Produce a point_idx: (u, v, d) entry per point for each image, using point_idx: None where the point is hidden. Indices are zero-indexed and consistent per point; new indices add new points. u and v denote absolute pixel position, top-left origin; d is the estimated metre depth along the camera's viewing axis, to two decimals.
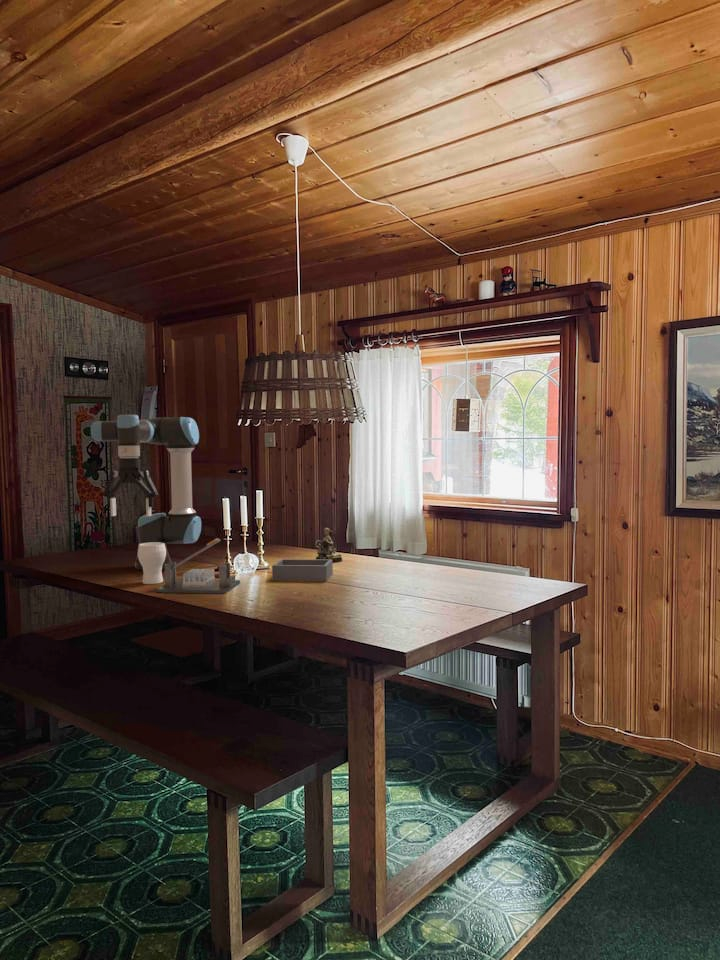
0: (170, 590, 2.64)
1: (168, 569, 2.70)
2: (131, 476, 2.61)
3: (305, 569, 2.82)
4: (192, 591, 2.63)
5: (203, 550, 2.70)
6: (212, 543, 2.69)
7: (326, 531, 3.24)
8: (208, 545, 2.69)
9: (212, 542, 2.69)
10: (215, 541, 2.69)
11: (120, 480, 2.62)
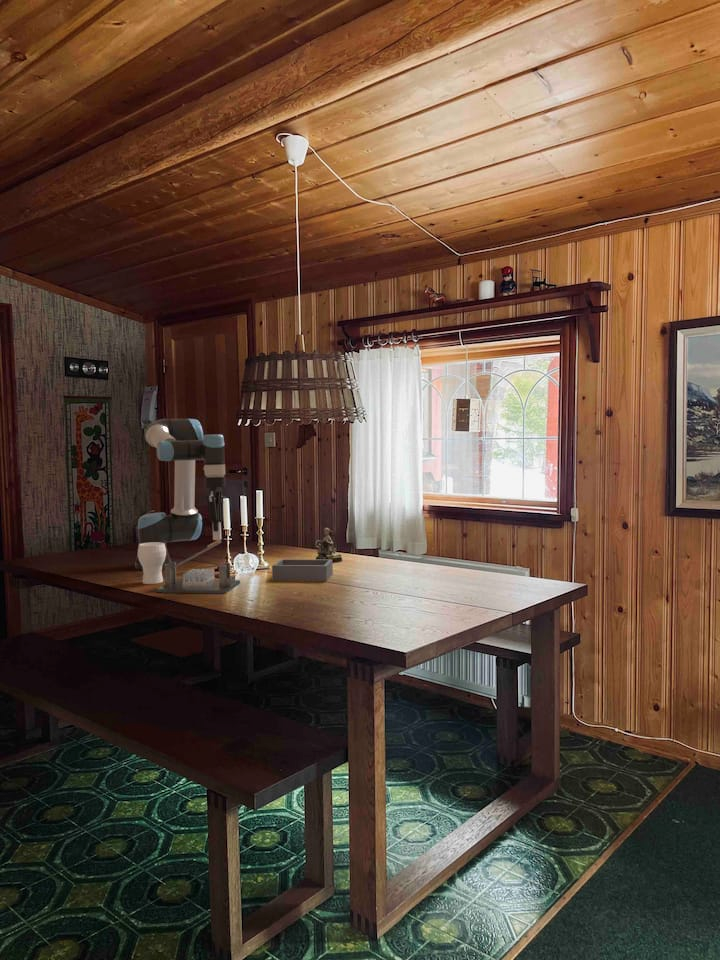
0: (170, 590, 2.64)
1: (168, 569, 2.70)
2: None
3: (305, 569, 2.82)
4: (192, 591, 2.63)
5: (204, 551, 2.70)
6: (213, 545, 2.69)
7: (326, 531, 3.24)
8: (209, 546, 2.69)
9: (213, 544, 2.69)
10: (216, 543, 2.69)
11: None
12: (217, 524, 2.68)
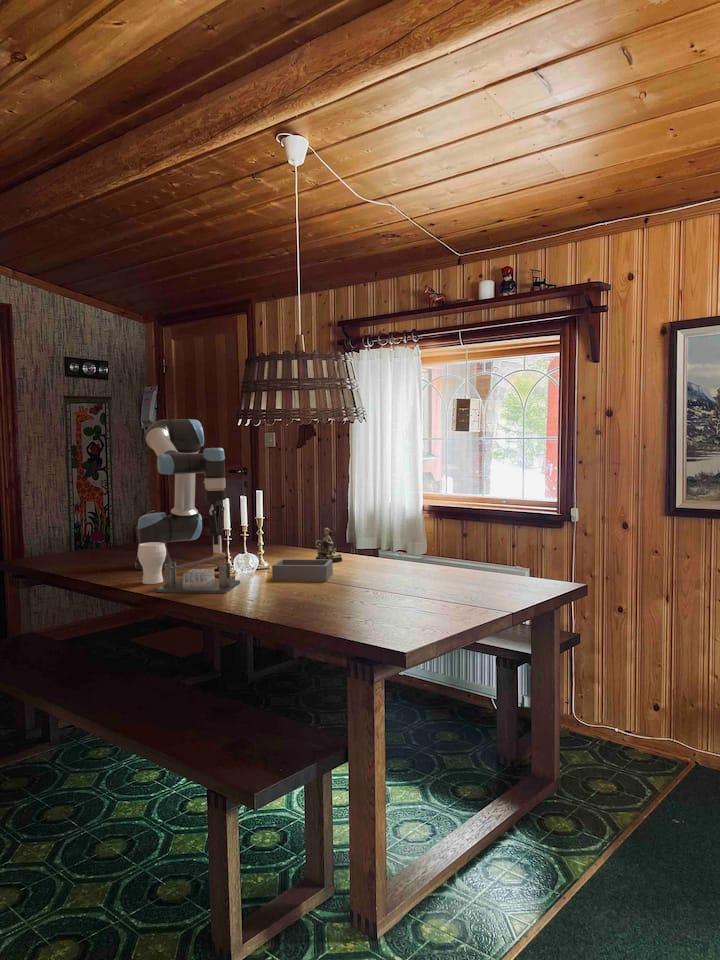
0: (170, 590, 2.64)
1: (168, 569, 2.70)
2: None
3: (305, 569, 2.82)
4: (192, 591, 2.63)
5: None
6: (218, 557, 2.69)
7: (326, 531, 3.24)
8: (213, 557, 2.69)
9: (218, 556, 2.69)
10: (221, 556, 2.69)
11: None
12: (217, 537, 2.68)
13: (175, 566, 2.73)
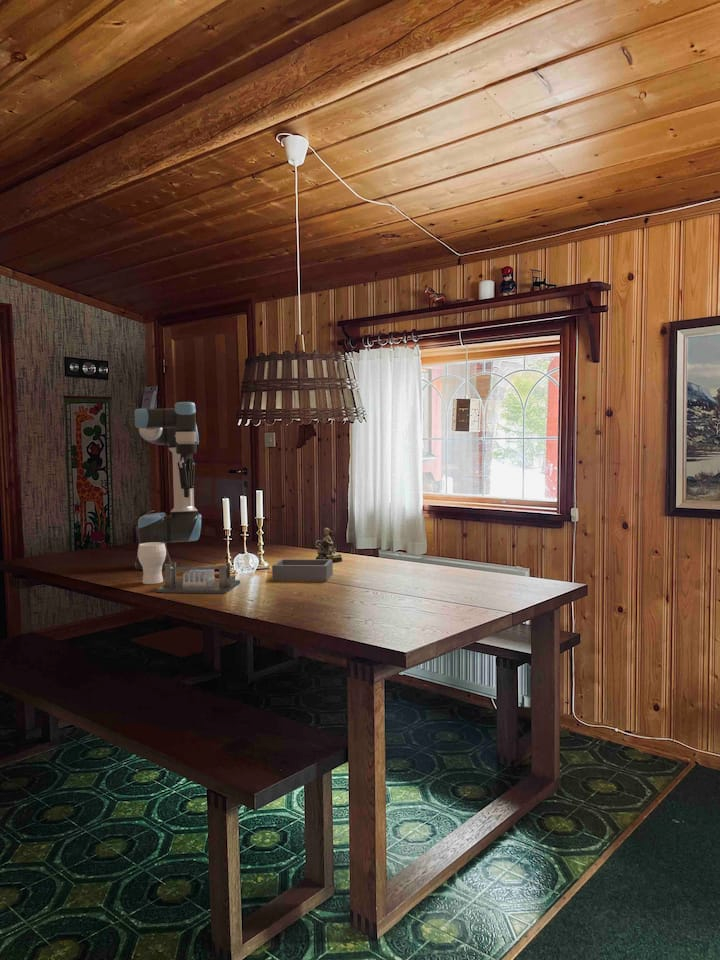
0: (170, 590, 2.64)
1: (168, 569, 2.70)
2: None
3: (305, 569, 2.82)
4: (192, 591, 2.63)
5: None
6: None
7: (326, 531, 3.24)
8: (215, 567, 2.69)
9: None
10: None
11: None
12: (188, 490, 2.73)
13: (175, 567, 2.73)
